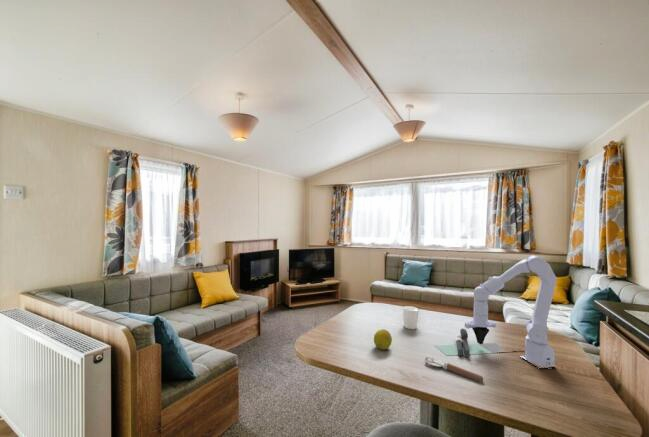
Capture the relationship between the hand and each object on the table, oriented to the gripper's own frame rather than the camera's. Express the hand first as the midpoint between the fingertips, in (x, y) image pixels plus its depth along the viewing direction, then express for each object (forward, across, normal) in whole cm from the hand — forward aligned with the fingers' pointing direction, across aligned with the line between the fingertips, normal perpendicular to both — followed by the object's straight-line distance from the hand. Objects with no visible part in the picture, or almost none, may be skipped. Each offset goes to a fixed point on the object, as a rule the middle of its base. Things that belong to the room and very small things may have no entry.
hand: (479, 343), depth 124 cm
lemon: (+3, +44, -5) cm, 45 cm away
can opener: (+3, +8, -2) cm, 8 cm away
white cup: (+3, +20, -27) cm, 34 cm away
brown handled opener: (+3, +24, +15) cm, 29 cm away
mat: (+2, 0, 0) cm, 3 cm away
